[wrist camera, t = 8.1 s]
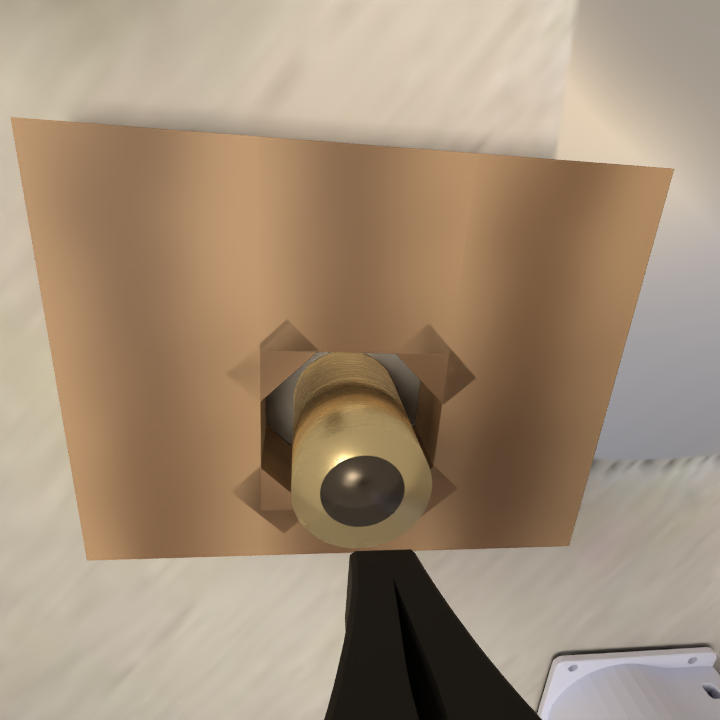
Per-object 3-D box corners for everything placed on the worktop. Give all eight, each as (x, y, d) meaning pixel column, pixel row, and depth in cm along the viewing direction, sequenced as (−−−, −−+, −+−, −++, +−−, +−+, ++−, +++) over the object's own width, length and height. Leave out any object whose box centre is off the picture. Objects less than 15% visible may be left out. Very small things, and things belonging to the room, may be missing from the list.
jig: (614, 167, 17) (674, 168, 15) (535, 498, 22) (568, 545, 20) (64, 125, 15) (11, 117, 12) (116, 505, 20) (87, 560, 17)
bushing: (398, 350, 19) (439, 428, 13) (391, 441, 20) (425, 545, 15) (293, 350, 18) (290, 431, 13) (293, 443, 20) (291, 551, 14)
